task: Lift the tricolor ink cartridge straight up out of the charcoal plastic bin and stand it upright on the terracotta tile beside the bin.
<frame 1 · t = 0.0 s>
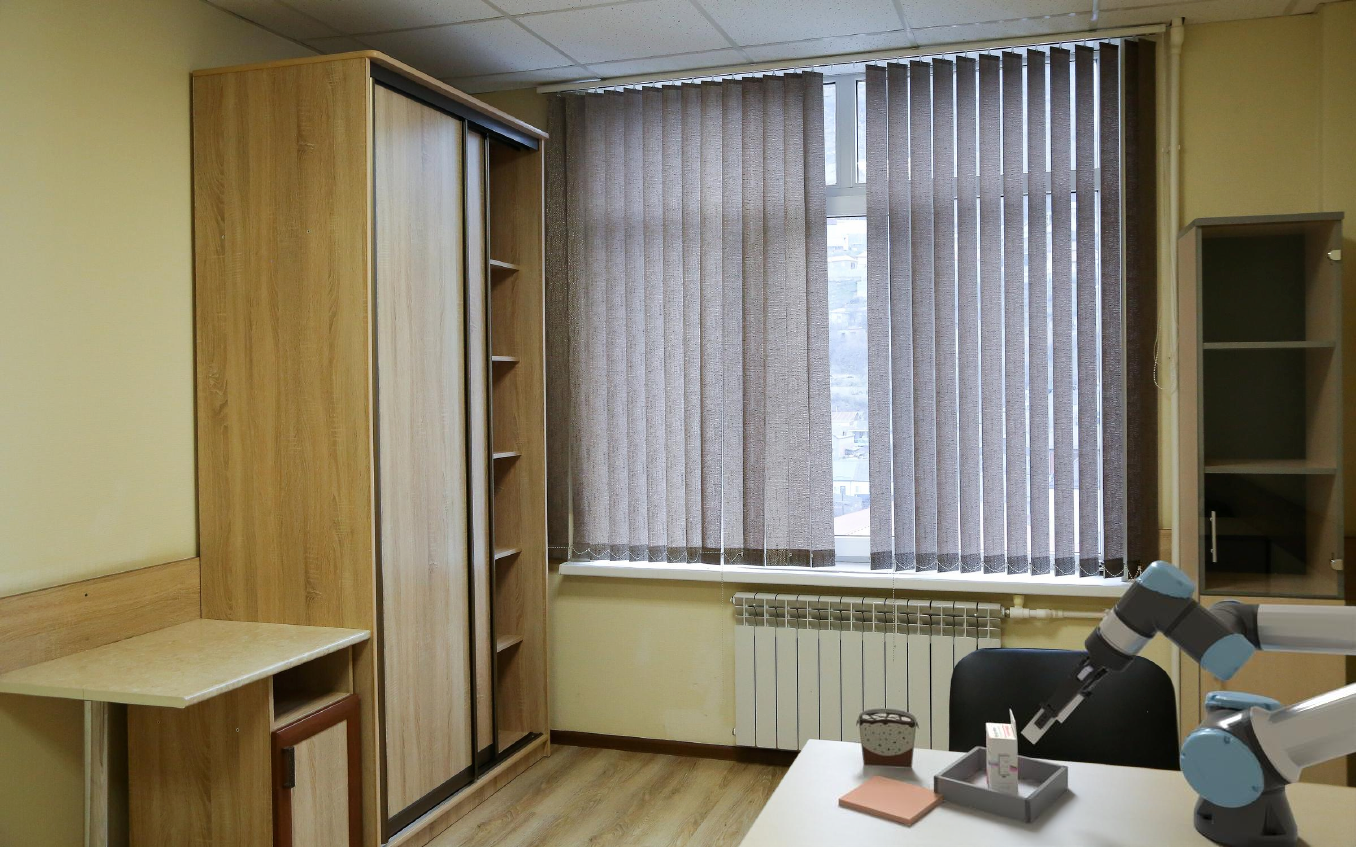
hand: (1042, 727, 172), 15 cm above the table, tool tilted 35°, fingers open, 13 cm apart
ink cartridge box: (1001, 793, 182), resting in parts bin
terracotta tile: (892, 801, 179), on the table
food container: (887, 762, 198), on the table
parts bin: (1001, 792, 182), on the table
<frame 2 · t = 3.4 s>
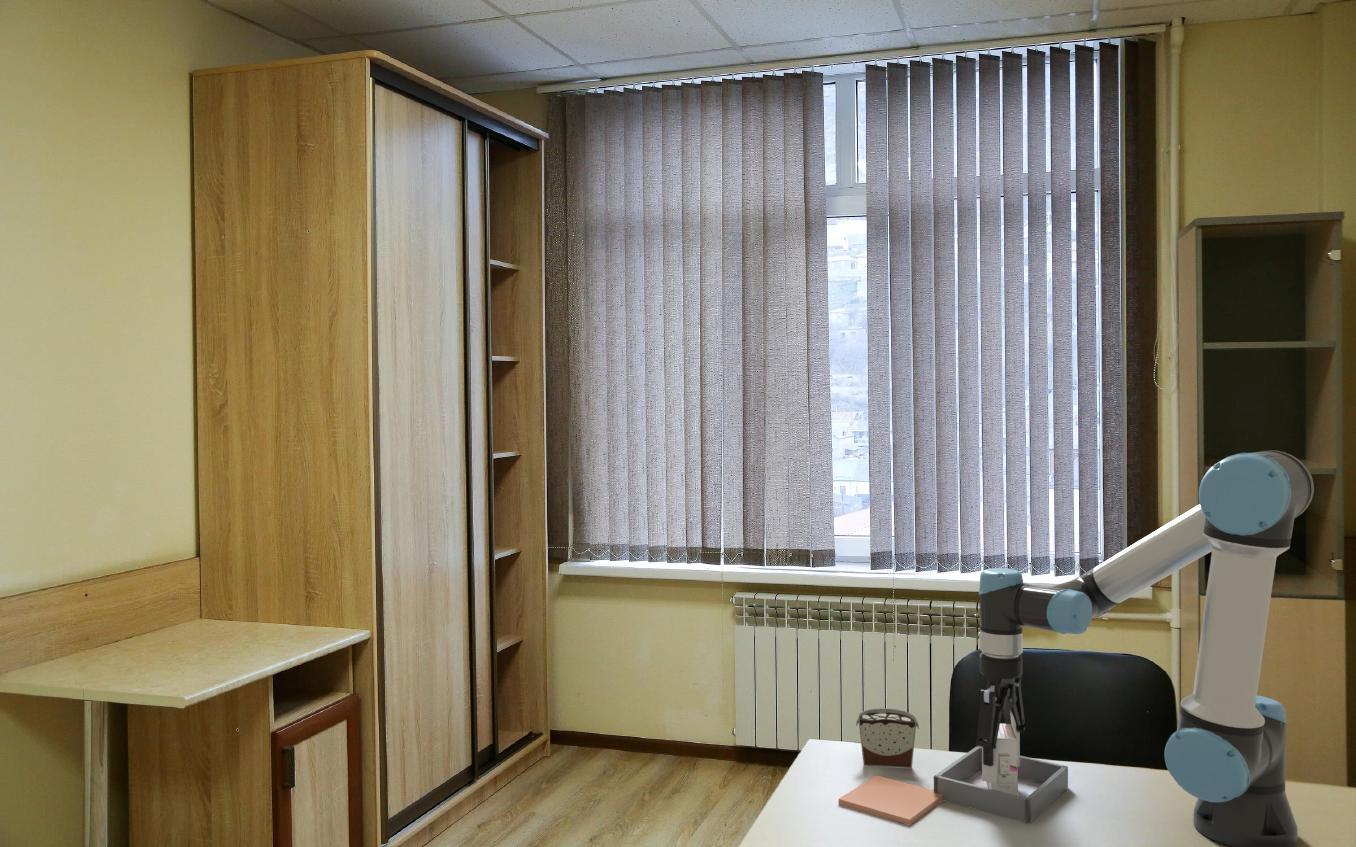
hand: (1001, 772, 182), 4 cm above the table, tool pointing down, fingers closed on ink cartridge box, 10 cm apart
ink cartridge box: (1001, 793, 182), resting in parts bin, touching gripper
everything else where it was.
when the fingers open (6 cm above the table, at t = 13.0 s): ink cartridge box drops 1 cm, resting on terracotta tile.
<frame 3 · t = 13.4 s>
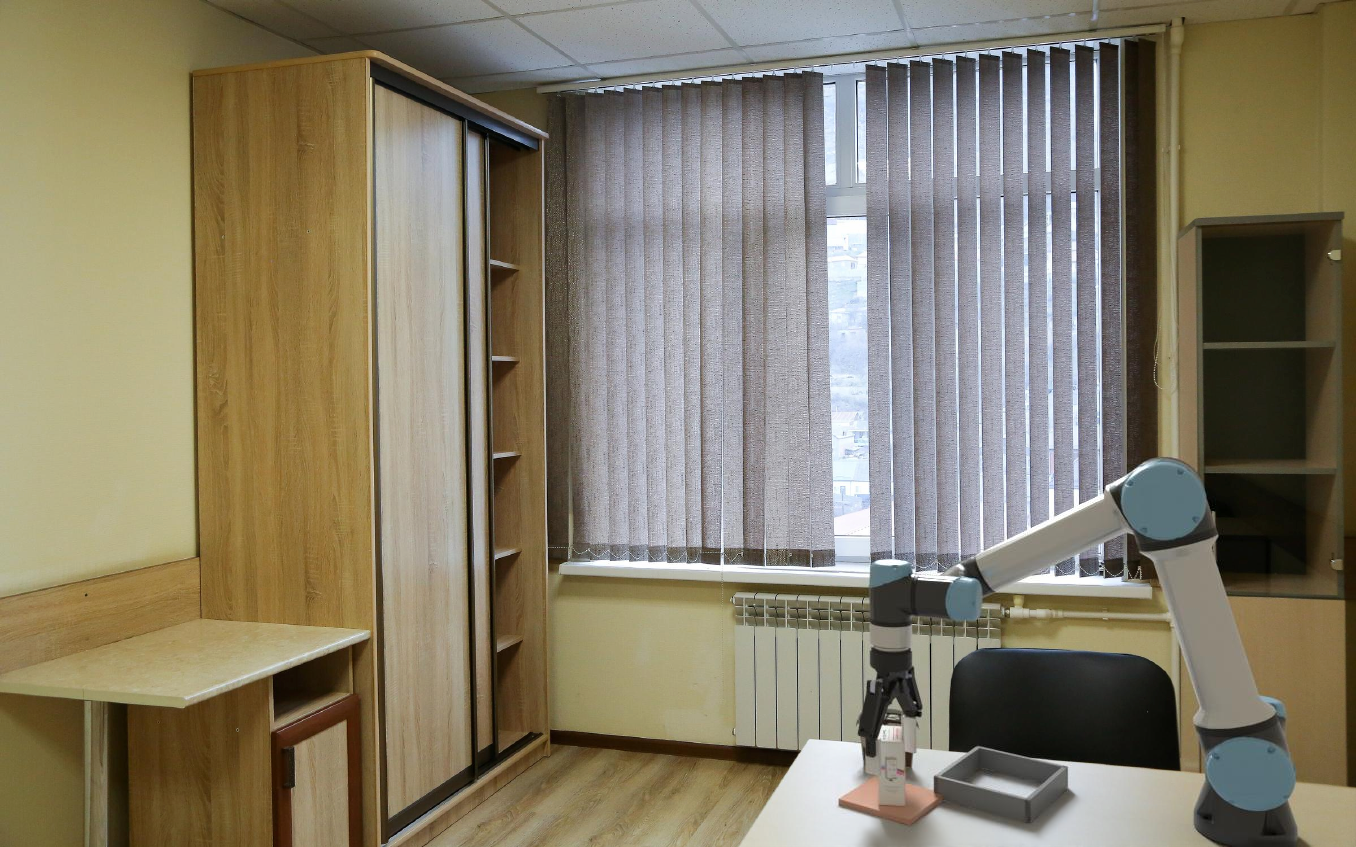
hand: (891, 762, 179), 7 cm above the table, tool pointing down, fingers open, 13 cm apart
ink cartridge box: (891, 797, 178), point 1 cm above the table, touching terracotta tile
everything else where it was.
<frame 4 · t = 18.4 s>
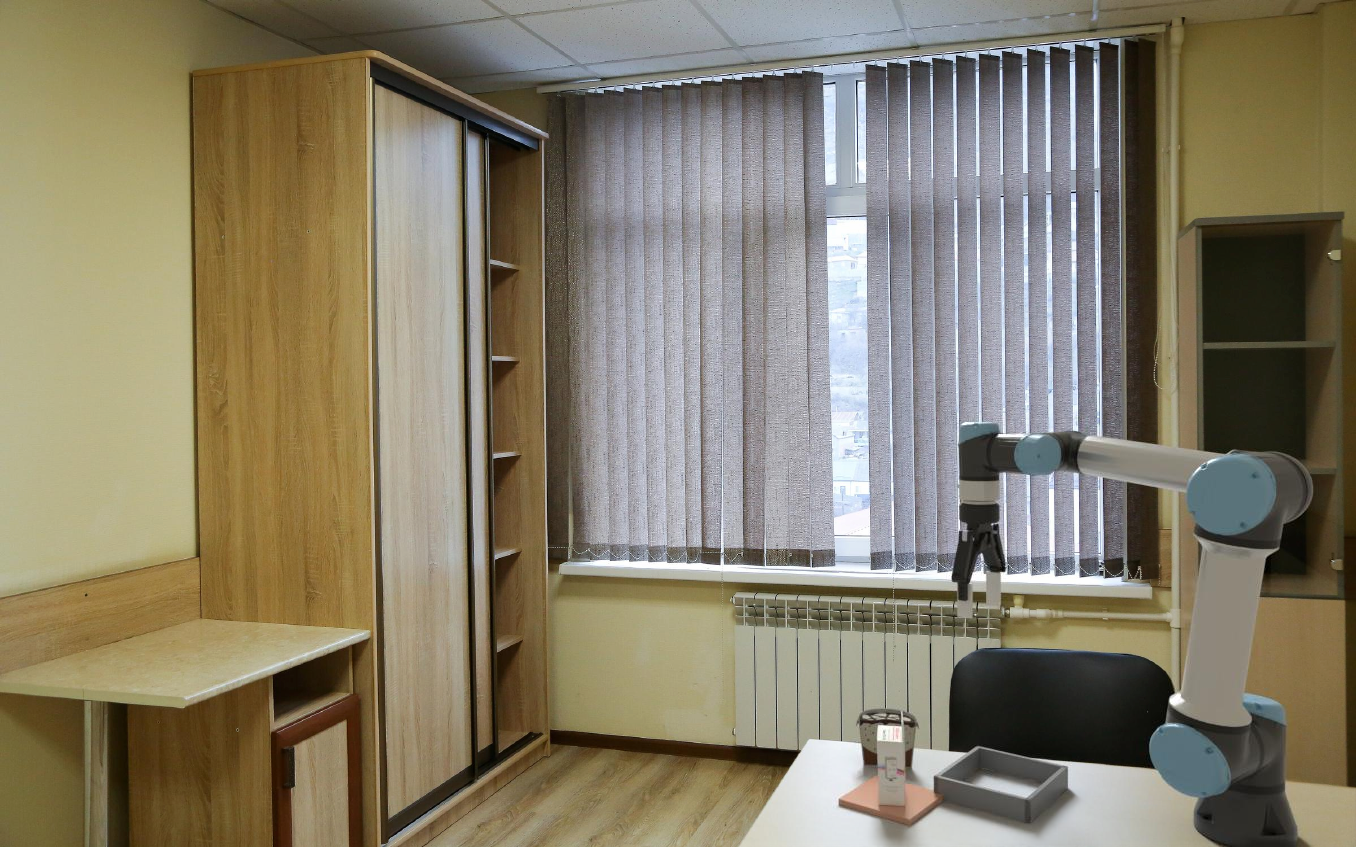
hand: (979, 610, 191), 32 cm above the table, tool pointing down, fingers open, 13 cm apart
nothing on the table moved.
at the end: ink cartridge box inside the target area on the terracotta tile (0.3 cm from its centre), point 0.8 cm above the terracotta tile's base; ink cartridge box tilted 0°; the gripper is holding nothing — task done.
